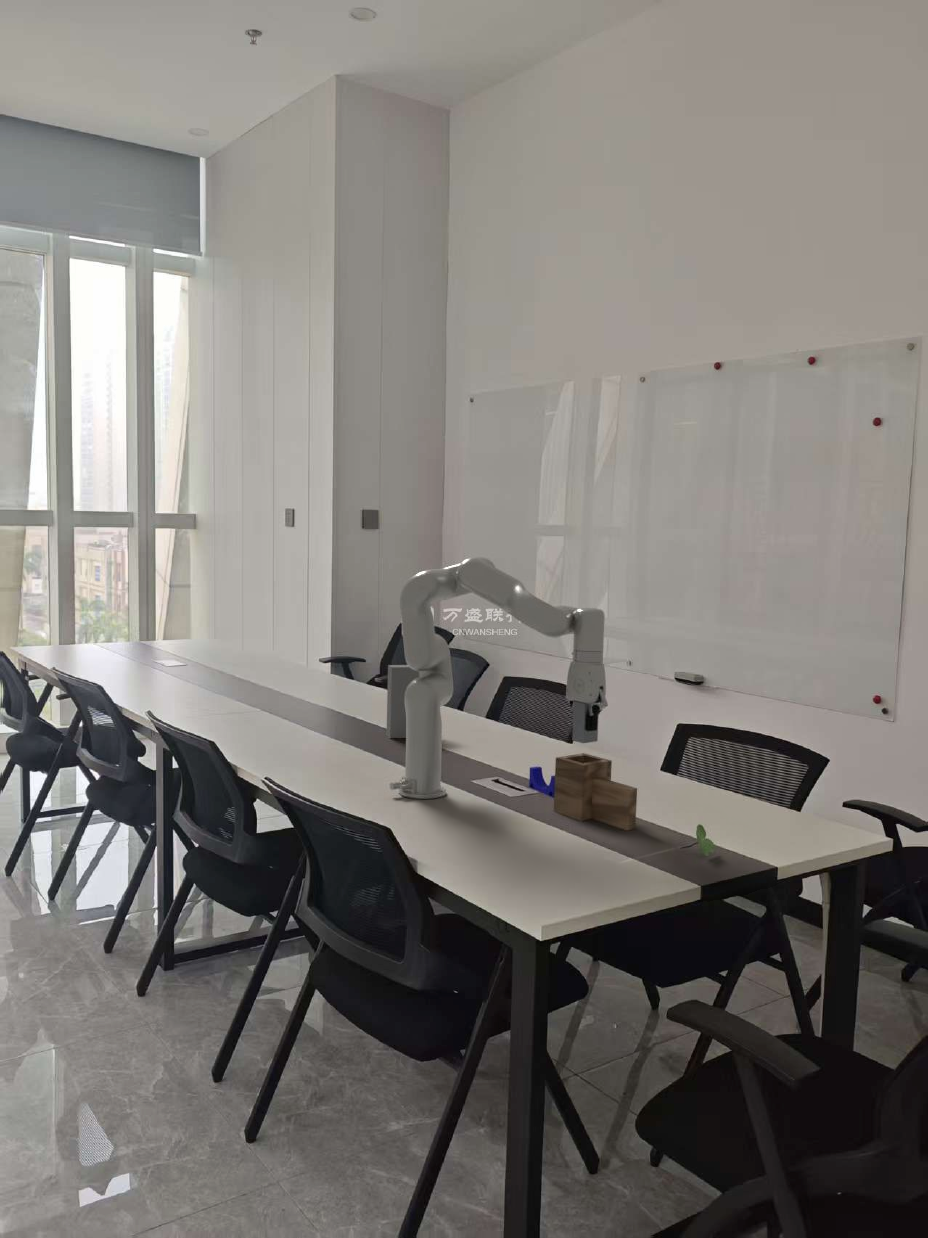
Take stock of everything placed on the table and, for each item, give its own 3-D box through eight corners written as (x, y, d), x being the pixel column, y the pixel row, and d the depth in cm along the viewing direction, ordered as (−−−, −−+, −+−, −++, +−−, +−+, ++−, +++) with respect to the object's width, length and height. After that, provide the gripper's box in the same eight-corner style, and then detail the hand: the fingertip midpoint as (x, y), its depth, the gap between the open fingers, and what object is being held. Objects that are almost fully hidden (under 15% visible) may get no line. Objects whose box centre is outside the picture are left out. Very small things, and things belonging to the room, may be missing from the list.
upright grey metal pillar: (583, 743, 257) (585, 700, 256) (571, 740, 261) (572, 698, 260) (598, 741, 260) (600, 699, 260) (586, 738, 264) (587, 696, 263)
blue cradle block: (567, 797, 278) (568, 775, 278) (553, 799, 276) (554, 777, 275) (542, 786, 289) (543, 765, 288) (529, 788, 286) (529, 767, 286)
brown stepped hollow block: (616, 832, 246) (619, 775, 245) (553, 811, 263) (555, 757, 262) (645, 826, 252) (647, 770, 251) (581, 805, 269) (583, 753, 268)
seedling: (693, 870, 234) (718, 860, 231) (673, 857, 230) (698, 846, 227) (689, 843, 239) (713, 833, 236) (669, 829, 235) (693, 818, 232)
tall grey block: (424, 736, 352) (426, 664, 349) (429, 740, 346) (431, 666, 344) (385, 738, 347) (386, 664, 345) (389, 741, 341) (391, 667, 339)
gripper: (554, 654, 263) (551, 724, 264) (601, 662, 250) (598, 736, 251) (575, 652, 267) (572, 722, 269) (622, 660, 254) (619, 733, 256)
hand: (585, 728), depth 260 cm, fingers closed on upright grey metal pillar, 4 cm apart
